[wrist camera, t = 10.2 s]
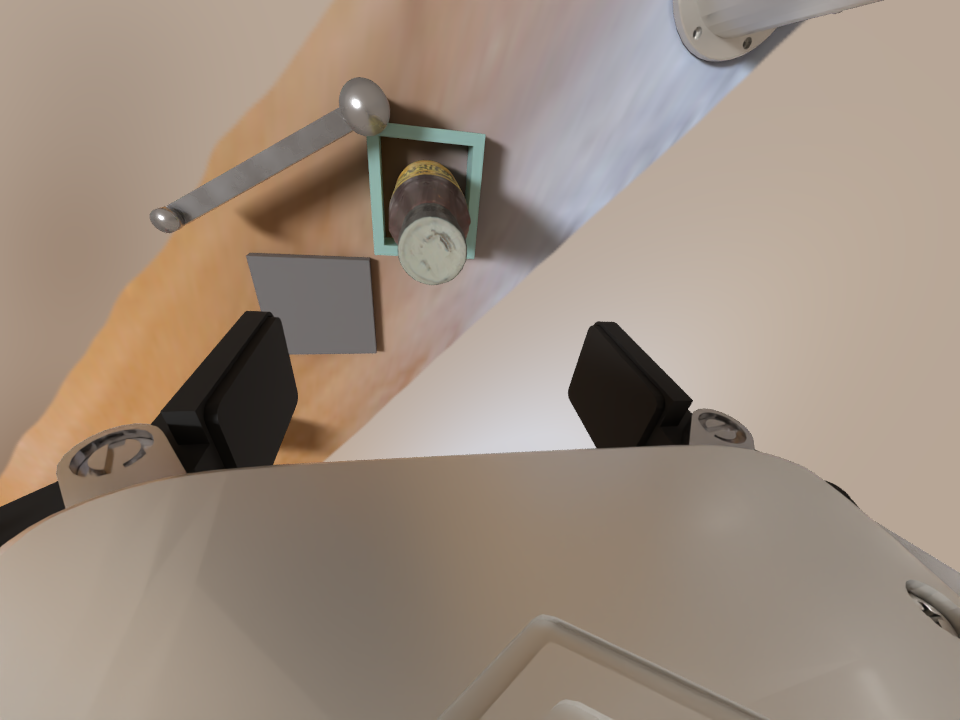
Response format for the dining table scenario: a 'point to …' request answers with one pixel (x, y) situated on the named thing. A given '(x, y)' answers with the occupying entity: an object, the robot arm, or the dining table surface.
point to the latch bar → (283, 154)
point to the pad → (318, 301)
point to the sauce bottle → (429, 222)
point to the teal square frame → (434, 135)
